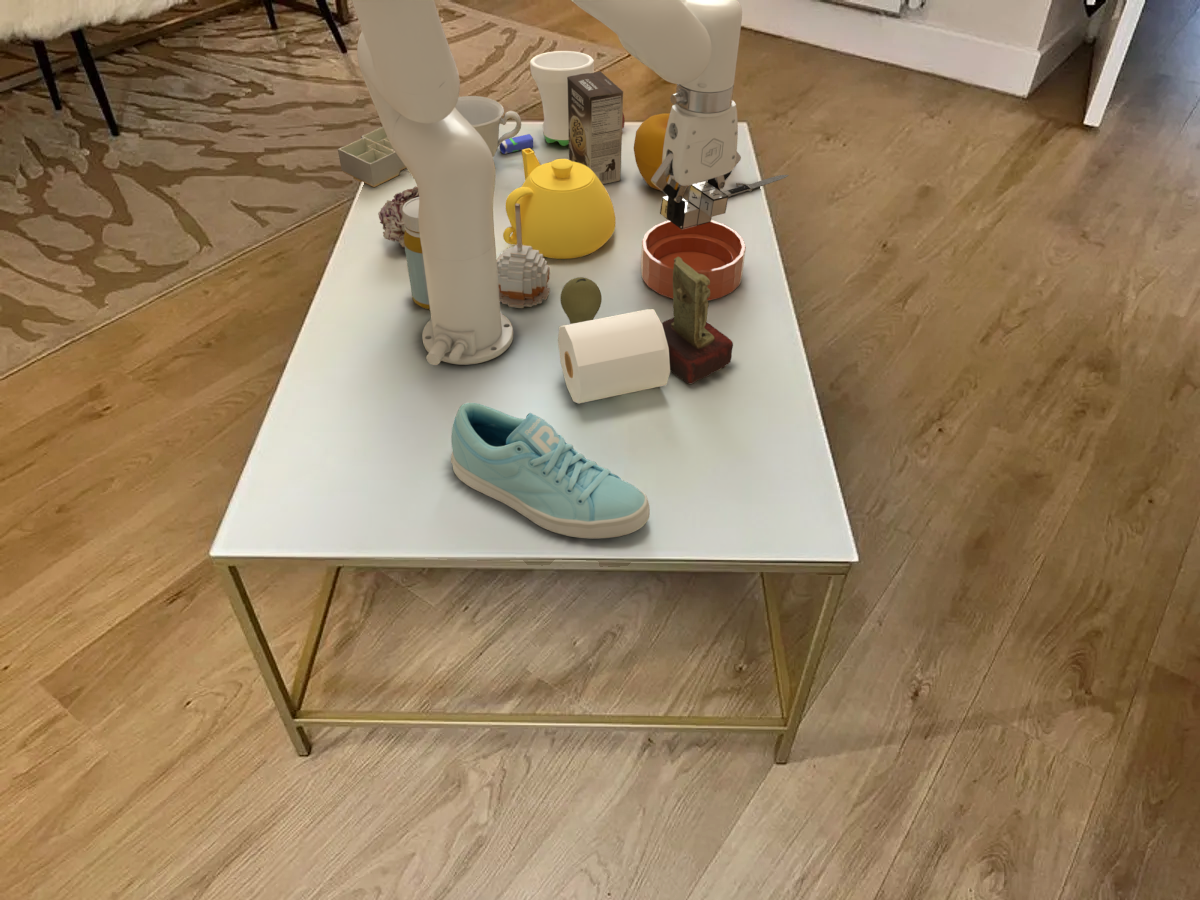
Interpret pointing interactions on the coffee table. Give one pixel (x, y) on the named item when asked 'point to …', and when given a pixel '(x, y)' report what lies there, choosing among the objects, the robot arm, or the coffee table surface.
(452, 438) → the sneaker
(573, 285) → the olive rounded lump
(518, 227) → the decorative ornament
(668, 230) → the bowl
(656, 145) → the apple
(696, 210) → the building blocks
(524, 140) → the eraser
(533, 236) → the teapot
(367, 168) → the organizer
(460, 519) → the coffee table surface
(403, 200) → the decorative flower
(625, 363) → the toilet paper
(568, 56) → the cup
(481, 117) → the teacup
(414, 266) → the bottle
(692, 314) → the sculpture
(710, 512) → the coffee table surface
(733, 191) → the knife
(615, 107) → the coffee box
